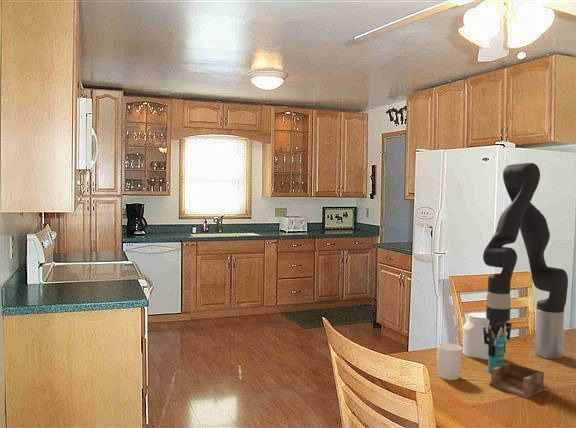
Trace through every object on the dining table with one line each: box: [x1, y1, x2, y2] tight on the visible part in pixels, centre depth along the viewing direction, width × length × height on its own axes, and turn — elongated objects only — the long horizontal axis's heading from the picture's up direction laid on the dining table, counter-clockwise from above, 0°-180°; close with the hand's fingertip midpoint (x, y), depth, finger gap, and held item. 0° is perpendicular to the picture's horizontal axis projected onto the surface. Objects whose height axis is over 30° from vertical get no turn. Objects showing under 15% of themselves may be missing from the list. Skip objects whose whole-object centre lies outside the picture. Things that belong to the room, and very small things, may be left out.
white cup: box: [436, 342, 463, 381], centre depth 169 cm, size 8×8×10 cm
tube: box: [487, 324, 506, 374], centre depth 174 cm, size 7×5×19 cm, turn 123°
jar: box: [462, 312, 490, 360], centre depth 192 cm, size 12×10×15 cm
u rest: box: [489, 362, 546, 399], centre depth 160 cm, size 11×12×6 cm
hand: (496, 354), depth 174 cm, fingers closed on tube, 5 cm apart
